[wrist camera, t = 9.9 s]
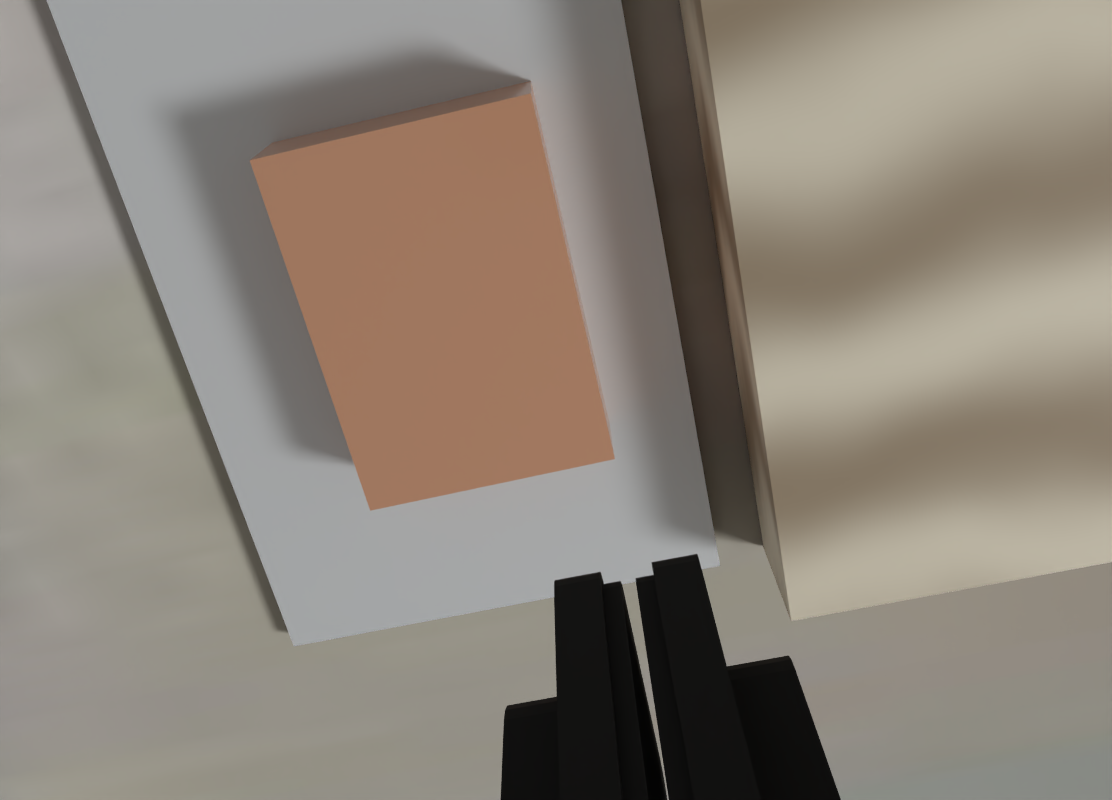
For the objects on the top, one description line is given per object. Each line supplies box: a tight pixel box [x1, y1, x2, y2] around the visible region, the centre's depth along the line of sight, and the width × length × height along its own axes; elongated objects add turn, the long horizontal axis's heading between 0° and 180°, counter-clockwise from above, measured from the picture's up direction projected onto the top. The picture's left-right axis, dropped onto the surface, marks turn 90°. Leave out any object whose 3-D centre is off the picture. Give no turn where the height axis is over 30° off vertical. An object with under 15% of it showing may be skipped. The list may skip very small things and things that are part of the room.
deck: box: [679, 0, 1112, 621], centre depth 27 cm, size 22×14×4 cm, turn 12°
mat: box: [47, 0, 720, 646], centre depth 30 cm, size 22×14×1 cm, turn 12°
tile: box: [250, 81, 615, 511], centre depth 28 cm, size 10×7×2 cm
